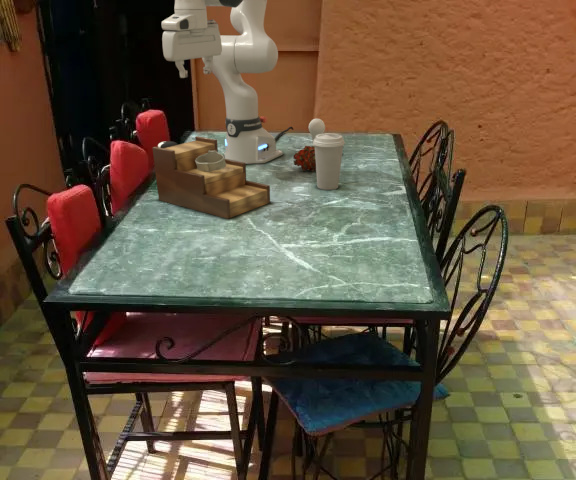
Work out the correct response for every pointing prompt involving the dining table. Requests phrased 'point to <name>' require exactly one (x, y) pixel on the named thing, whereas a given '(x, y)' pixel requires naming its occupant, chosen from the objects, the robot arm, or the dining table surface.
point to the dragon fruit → (306, 158)
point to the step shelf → (205, 181)
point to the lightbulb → (316, 128)
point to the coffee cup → (328, 159)
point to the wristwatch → (210, 161)
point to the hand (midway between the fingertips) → (195, 75)
